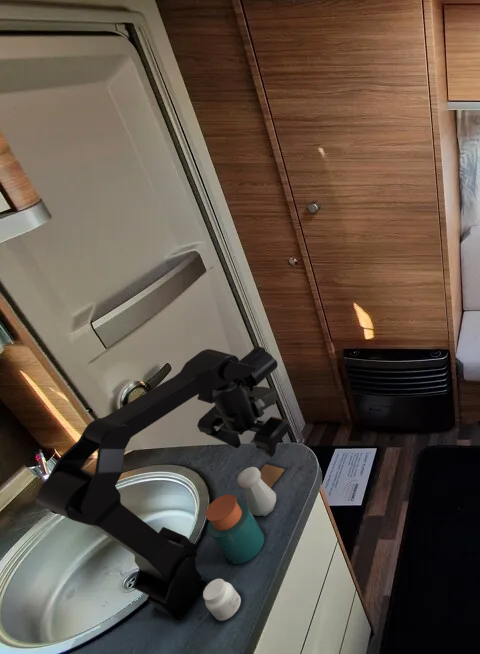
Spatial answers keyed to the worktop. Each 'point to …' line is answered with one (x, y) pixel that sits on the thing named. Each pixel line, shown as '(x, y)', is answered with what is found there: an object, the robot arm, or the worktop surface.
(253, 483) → the salt shaker
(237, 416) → the robot arm
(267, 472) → the coaster
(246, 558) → the tin
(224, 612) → the pill bottle
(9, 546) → the worktop surface
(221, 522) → the brown lid
